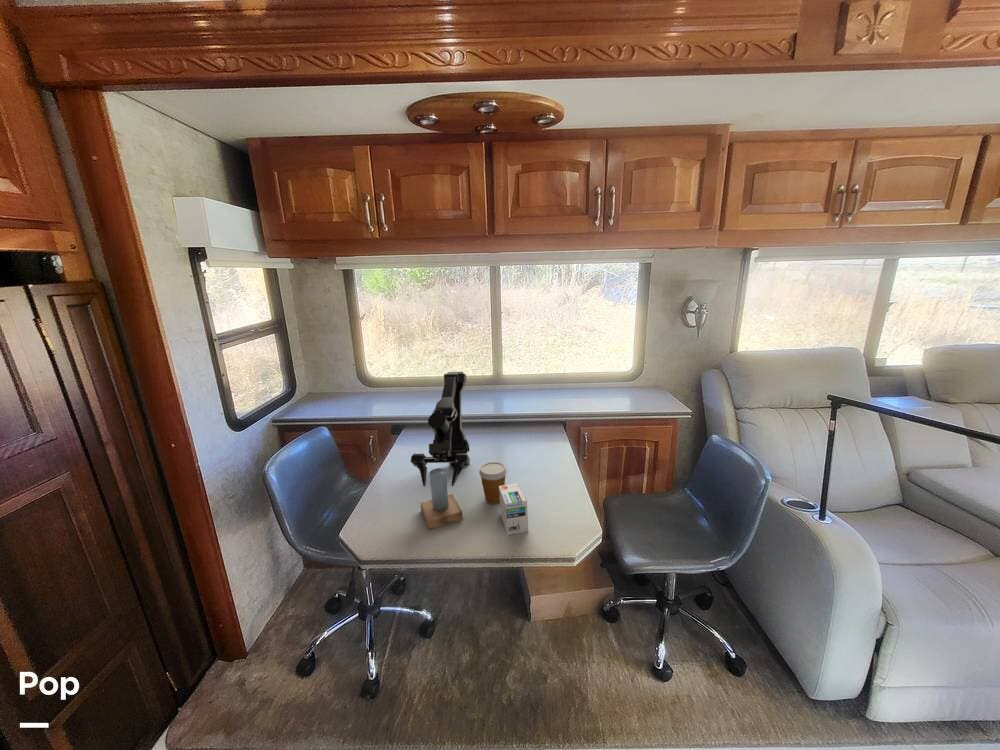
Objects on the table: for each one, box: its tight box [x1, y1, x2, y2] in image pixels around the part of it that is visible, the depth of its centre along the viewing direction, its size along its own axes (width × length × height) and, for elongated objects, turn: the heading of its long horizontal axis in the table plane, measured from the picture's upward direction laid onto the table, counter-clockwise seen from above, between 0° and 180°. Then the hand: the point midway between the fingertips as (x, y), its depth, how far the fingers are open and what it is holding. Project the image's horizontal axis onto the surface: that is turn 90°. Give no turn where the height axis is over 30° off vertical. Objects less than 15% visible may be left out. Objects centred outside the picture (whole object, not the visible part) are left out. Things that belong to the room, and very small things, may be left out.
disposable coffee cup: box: [478, 461, 508, 505], centre depth 128 cm, size 10×10×12 cm
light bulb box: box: [499, 482, 529, 536], centre depth 115 cm, size 11×7×11 cm, turn 12°
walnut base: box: [420, 493, 464, 530], centre depth 122 cm, size 11×11×3 cm
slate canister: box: [428, 467, 449, 512], centre depth 120 cm, size 5×5×12 cm
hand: (438, 486), depth 119 cm, fingers open, 9 cm apart
